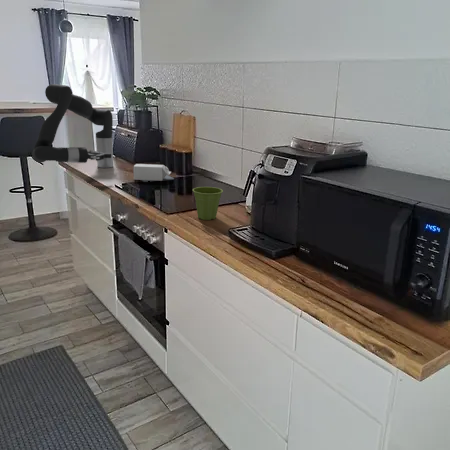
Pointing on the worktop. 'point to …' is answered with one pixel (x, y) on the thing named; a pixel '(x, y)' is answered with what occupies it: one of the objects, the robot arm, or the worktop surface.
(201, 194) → the plant pot
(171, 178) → the mat
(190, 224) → the worktop surface
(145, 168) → the milk carton
